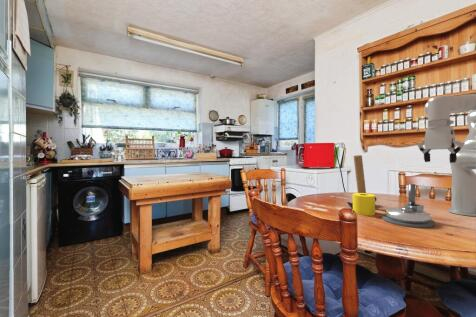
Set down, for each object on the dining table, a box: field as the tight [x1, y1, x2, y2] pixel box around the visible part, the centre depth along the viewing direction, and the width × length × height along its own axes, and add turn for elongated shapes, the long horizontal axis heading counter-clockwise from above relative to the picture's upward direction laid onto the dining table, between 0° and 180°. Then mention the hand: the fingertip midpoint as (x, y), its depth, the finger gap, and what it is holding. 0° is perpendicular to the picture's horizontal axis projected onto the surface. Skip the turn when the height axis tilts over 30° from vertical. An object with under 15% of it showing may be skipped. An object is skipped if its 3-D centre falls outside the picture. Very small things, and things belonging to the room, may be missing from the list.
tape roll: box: [352, 192, 376, 217], centre depth 118 cm, size 10×10×9 cm
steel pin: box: [407, 183, 416, 206], centre depth 106 cm, size 2×2×12 cm
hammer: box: [346, 154, 378, 209], centre depth 130 cm, size 20×5×30 cm, turn 120°
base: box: [381, 213, 436, 229], centre depth 104 cm, size 19×19×1 cm
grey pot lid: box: [385, 203, 431, 224], centre depth 104 cm, size 16×16×6 cm
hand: (439, 162), depth 105 cm, fingers open, 9 cm apart
